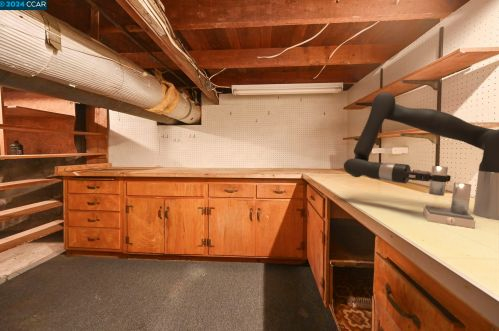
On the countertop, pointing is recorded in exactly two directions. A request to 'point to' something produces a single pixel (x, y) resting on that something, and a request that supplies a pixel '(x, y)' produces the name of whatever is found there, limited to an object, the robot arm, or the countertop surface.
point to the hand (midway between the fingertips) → (448, 178)
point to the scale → (447, 217)
